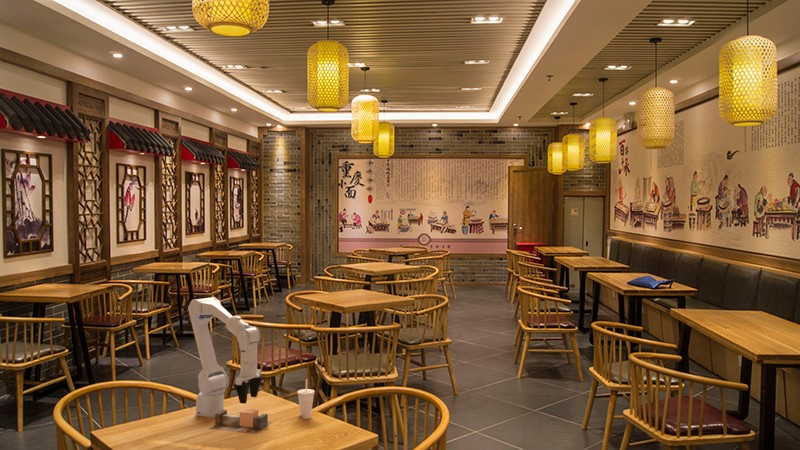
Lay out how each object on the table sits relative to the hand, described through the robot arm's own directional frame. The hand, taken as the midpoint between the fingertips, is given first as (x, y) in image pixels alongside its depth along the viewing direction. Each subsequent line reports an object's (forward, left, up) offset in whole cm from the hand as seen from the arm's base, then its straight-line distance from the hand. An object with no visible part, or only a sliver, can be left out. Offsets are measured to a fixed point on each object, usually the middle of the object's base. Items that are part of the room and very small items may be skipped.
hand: (248, 399), depth 214 cm
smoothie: (+16, +15, -10) cm, 23 cm away
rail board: (-1, -2, -9) cm, 10 cm away
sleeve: (+2, -2, -8) cm, 9 cm away
